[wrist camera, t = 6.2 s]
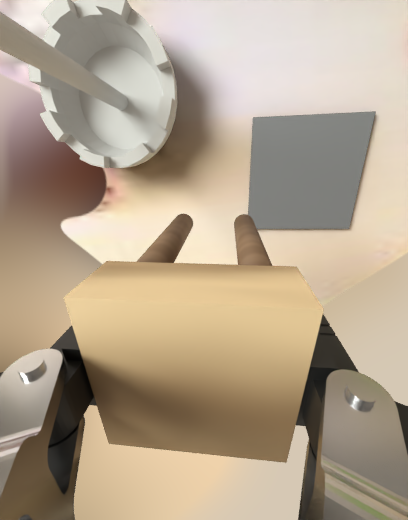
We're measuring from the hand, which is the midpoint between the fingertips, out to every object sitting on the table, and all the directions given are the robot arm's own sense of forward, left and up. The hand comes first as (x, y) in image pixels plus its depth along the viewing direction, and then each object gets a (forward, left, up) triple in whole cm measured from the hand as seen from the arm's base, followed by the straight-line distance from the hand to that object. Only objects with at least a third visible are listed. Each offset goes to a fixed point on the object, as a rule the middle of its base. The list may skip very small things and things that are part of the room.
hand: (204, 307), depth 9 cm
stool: (0, 0, -6) cm, 6 cm away
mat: (-4, +9, -21) cm, 23 cm away
